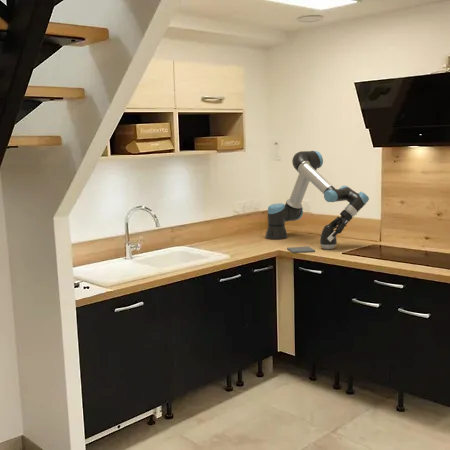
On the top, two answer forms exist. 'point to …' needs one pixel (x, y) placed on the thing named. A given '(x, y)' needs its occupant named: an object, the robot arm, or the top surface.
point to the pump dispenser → (325, 234)
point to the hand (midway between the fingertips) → (325, 238)
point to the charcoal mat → (300, 249)
